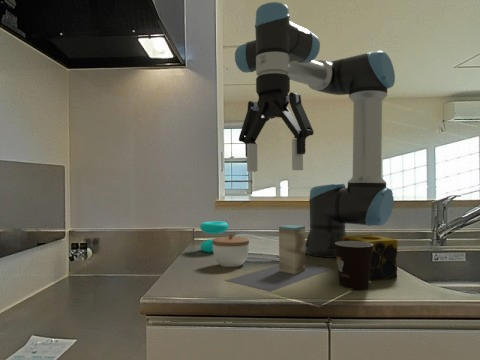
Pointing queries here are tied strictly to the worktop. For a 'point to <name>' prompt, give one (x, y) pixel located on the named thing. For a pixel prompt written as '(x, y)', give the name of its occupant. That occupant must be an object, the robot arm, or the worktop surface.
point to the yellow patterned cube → (380, 255)
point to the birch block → (292, 249)
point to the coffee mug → (354, 264)
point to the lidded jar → (230, 250)
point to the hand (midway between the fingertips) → (273, 171)
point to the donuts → (212, 228)
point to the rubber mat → (275, 277)
